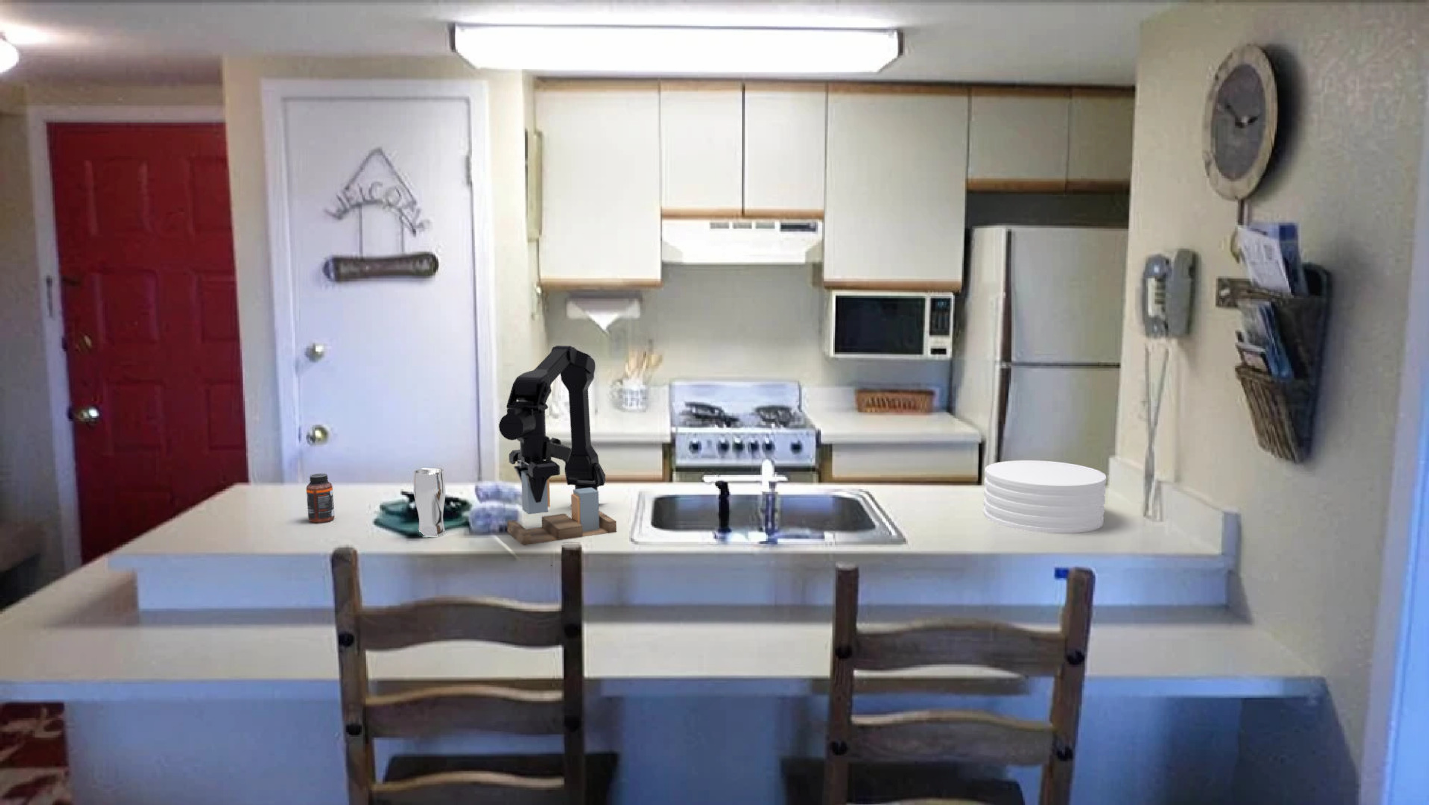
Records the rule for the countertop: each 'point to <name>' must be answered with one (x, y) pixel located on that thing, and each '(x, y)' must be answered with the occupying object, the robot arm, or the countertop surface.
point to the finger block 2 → (586, 508)
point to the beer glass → (430, 500)
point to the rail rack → (558, 529)
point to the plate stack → (1044, 496)
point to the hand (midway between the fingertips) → (534, 500)
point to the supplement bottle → (320, 499)
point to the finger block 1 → (528, 499)
